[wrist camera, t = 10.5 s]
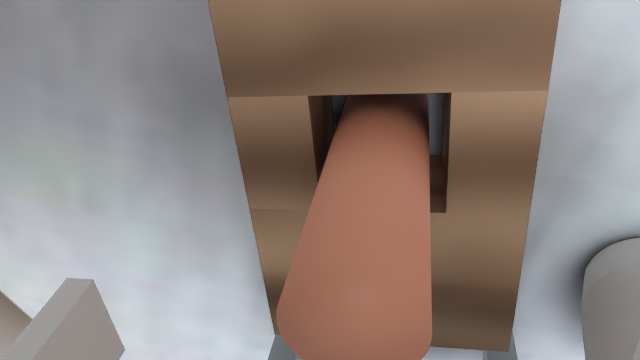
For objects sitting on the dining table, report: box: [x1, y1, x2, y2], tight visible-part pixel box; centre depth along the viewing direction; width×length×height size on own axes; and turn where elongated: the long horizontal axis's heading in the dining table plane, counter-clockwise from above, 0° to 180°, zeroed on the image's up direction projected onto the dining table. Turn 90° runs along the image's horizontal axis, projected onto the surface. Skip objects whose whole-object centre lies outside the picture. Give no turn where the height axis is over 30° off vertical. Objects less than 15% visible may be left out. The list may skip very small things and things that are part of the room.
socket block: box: [208, 0, 561, 352], centre depth 23 cm, size 18×12×5 cm, turn 5°
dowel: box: [276, 93, 432, 360], centre depth 19 cm, size 4×4×14 cm
